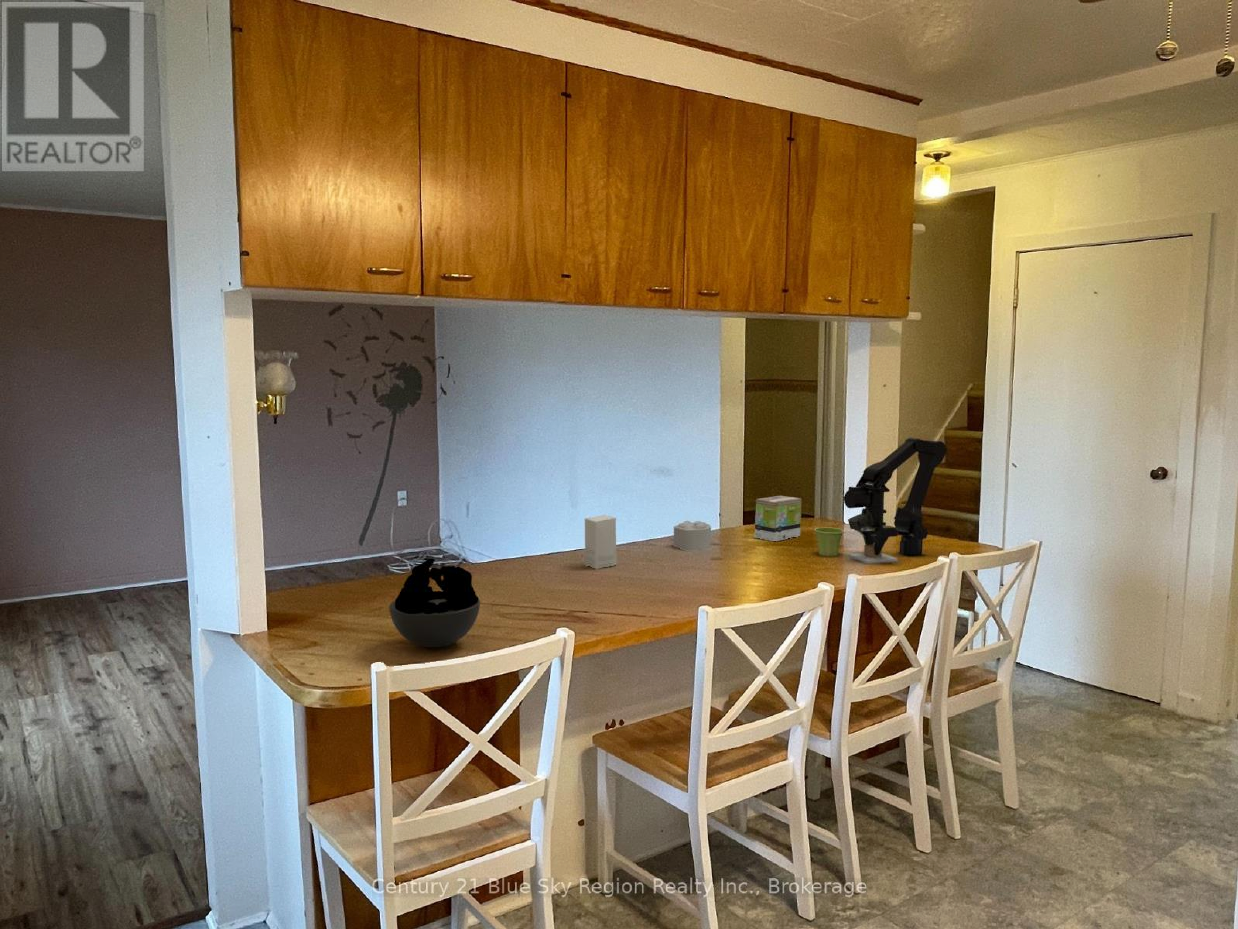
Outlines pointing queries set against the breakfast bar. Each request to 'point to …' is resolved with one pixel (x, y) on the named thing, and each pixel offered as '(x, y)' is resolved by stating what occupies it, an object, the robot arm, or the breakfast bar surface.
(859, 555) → the lid
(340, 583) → the breakfast bar surface
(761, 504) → the tea box
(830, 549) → the plant pot
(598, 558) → the skincare box
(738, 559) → the breakfast bar surface
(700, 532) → the lumpy-topped squat cylinder
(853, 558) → the mat
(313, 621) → the breakfast bar surface
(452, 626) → the coal bowl
